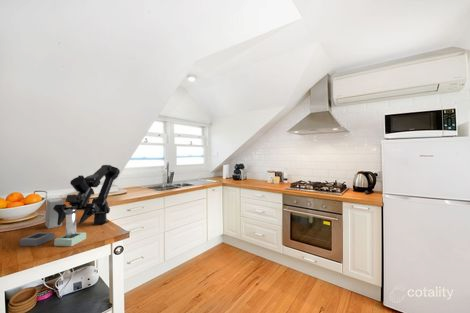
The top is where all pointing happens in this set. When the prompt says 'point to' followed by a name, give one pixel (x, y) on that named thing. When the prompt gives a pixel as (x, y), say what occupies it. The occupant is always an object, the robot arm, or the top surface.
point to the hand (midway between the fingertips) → (69, 224)
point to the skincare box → (52, 213)
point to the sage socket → (69, 240)
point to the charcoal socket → (36, 239)
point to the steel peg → (71, 223)
